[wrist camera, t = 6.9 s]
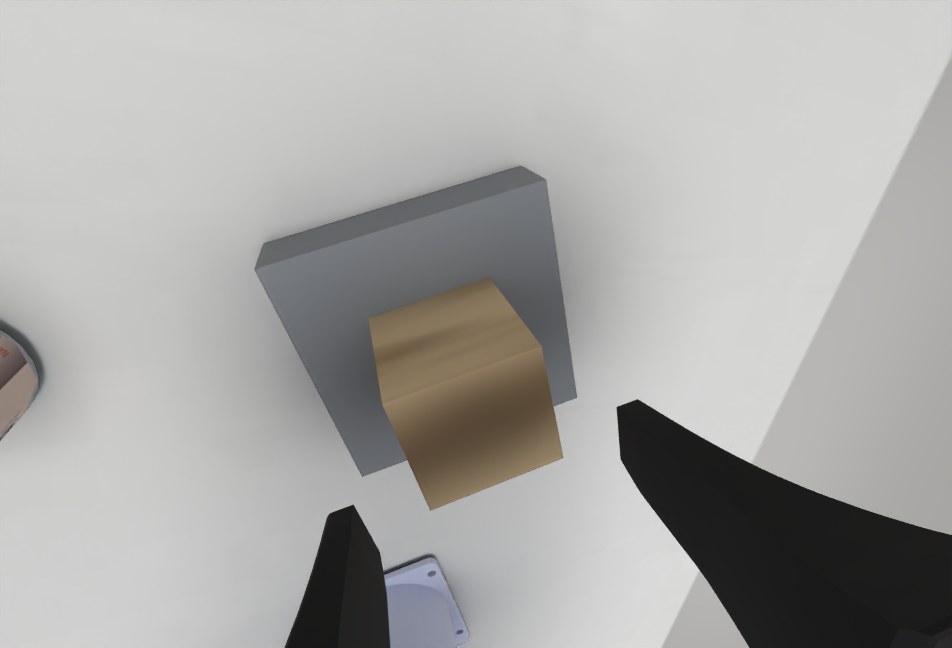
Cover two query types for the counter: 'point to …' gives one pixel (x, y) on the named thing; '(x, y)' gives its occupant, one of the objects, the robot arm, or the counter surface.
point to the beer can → (15, 382)
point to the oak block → (464, 391)
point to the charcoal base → (413, 289)
